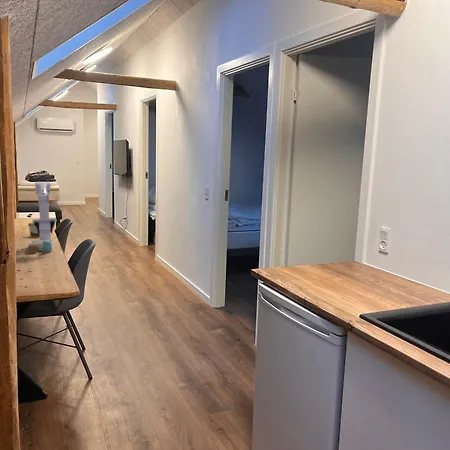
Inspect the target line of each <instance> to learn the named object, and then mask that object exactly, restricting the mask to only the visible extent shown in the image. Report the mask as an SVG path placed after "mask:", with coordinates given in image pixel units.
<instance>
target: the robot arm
mask: <svg viewBox="0 0 450 450" xmlns="http://www.w3.org/2000/svg"><path fill="white" fill-rule="evenodd" d="M34 185H35V187H34V189H35V194H36V195H37V200H38V201H37V202H38V208H39V209H38V210H39V219H32V222H31V223H34V224H35V226H36V228H37V231H38V234H40V237H39V240H52V237H51V235H52V234H53V231H54V227H55V225H56V222H57V218H50V207H49V203H50V194H51V182H50V181H46V182H45V181H43V182H40V181H39V182H37V181H35V183H34Z"/></svg>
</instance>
